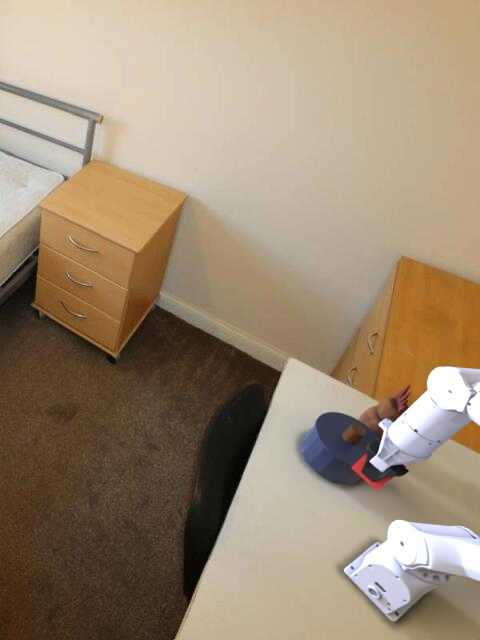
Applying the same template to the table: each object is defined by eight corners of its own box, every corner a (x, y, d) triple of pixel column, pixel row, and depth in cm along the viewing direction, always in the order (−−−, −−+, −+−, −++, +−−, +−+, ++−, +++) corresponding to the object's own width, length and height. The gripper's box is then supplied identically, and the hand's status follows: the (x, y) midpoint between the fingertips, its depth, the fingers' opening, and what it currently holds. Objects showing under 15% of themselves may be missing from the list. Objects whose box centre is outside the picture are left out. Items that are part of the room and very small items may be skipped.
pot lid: (357, 481, 88) (371, 469, 85) (299, 429, 95) (310, 416, 92) (394, 454, 92) (408, 441, 89) (336, 406, 99) (348, 393, 97)
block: (376, 490, 85) (392, 477, 82) (350, 468, 88) (365, 454, 85) (391, 478, 86) (408, 465, 83) (366, 456, 89) (380, 442, 86)
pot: (339, 494, 92) (358, 477, 88) (289, 447, 99) (304, 428, 95) (372, 469, 96) (392, 451, 92) (322, 425, 103) (338, 407, 99)
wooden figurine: (355, 417, 104) (398, 372, 95) (387, 437, 101) (435, 392, 92) (344, 437, 101) (387, 392, 91) (376, 458, 98) (425, 414, 88)
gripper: (424, 386, 83) (377, 431, 92) (372, 423, 77) (327, 468, 86) (473, 421, 78) (419, 465, 87) (421, 463, 72) (369, 506, 81)
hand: (376, 469), depth 86 cm, fingers closed on block, 4 cm apart
